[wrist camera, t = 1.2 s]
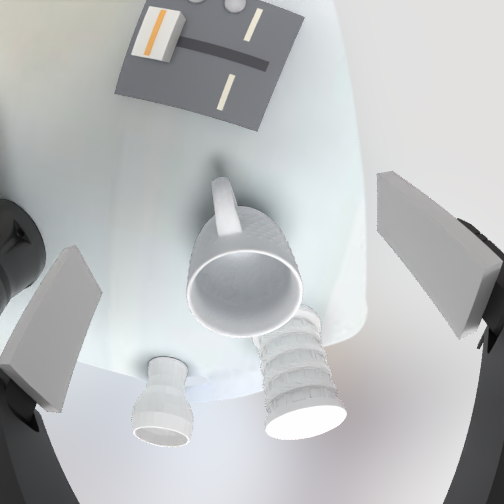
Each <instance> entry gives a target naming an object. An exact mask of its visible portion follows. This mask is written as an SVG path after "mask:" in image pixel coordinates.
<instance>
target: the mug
mask: <svg viewBox="0 0 504 504" xmlns="http://www.w3.org/2000/svg"><path fill="white" fill-rule="evenodd" d="M212 195H213V202H214V210H215V215H214V216H213V217H212V218H211V219H209V220H208V222H207V223H206V224H205V225H204V227H203V228H202V229H201V232H200V233H199V234H198V238H197V239H196V241H195V245H194V247H193V252H192V254H191V259H190V266H189V270H188V271H189V273H188V282H187V291H186V298H187V303H188V306H189V309H190V311H191V313H192V314H193V316H194V317H195V318H196V319H197V320H198V321H199V322H200V323H201V324H202V325H203V326H204V327H206V328H207V329H209V330H211V331H213V332H215V333H217V334H220V335H223V336H228V337H235V338H248V337H255V336H260V335H264V334H267V333H269V332H272V331H274V330H276V329H278V328H279V327H281V326H283V325H284V324H285V323H287V322H288V321H289V320H290V319H291V318H292V317H293V316H294V315H295V313H296V312H297V310H298V308H299V306H300V304H301V301H302V297H303V284H302V280H301V276H300V273H299V270H298V266H297V264H296V262H295V258H294V256H293V254H292V251H291V248H290V247H289V244H288V242H287V241H286V239H285V236H284V235H283V234H282V232H281V230H280V229H279V228H278V227H277V225H276V224H275V223H274V222H273V220H272V219H270V218H269V217H268V216H267V215H265V214H263V213H262V212H260V211H258V210H256V209H253V208H251V207H245V206H238V205H237V202H236V199H235V195H234V192H233V189H232V186H231V183H230V180H229V178H228V177H218V178H216V179H214V180H213V181H212Z"/></svg>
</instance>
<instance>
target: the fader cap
mask: <svg viewBox="0 0 504 504" xmlns="http://www.w3.org/2000/svg"><path fill="white" fill-rule="evenodd" d="M185 21H186V18H185V17H184V16H183V14H182V13H181V11H176V10H170V9H165V8H158V7H152V6H149V8H148V10H147V13H146V15H145V18H144V20H143V23H142V25H141V28H140V31H139V33H138V36H137V39H136V41H135V44H134V47H133V50H132V53H131V55H134V56H139V57H144V58H149V59H154V60H159V61H164V62H169V63H170V60H171V57H172V55H173V52H174V49H175V46H176V44H177V41H178V39H179V36H180V34H181V31H182V29H183V26H184V24H185Z"/></svg>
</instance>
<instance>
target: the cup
mask: <svg viewBox="0 0 504 504" xmlns="http://www.w3.org/2000/svg"><path fill="white" fill-rule="evenodd" d="M187 373H188V369H187V367H186V365H185V364H184V363H182V362H181V361H179V360H177V359H174V358H170V357H157V358H154V359H152V360H151V361H150V362H149V364H148V383H147V386H146V390H145V391H144V392H143V393H142V394H141V395H140V396H139V398H138V400H137V401H136V403H135V405H134V408H133V413H132V428H133V433H134V435H135V436H136V437H137V438H138V439H140V440H142V441H144V442H146V443H149V444H153V445H157V446H163V447H179V446H183V445H186V444H188V442H189V441H190V438H191V435H192V431H193V414H192V411H191V407H190V405H189V403H188V401H187V399H186V397H185V391H184V385H185V381H186V378H187Z"/></svg>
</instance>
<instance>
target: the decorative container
mask: <svg viewBox="0 0 504 504" xmlns="http://www.w3.org/2000/svg"><path fill="white" fill-rule="evenodd" d="M320 332H321V322H320V319H319V317H318V315H317V313H316V312H315V311H314V310H313V309H312V308H309V307H307V306H305V305H301V304H300V306H299V308H298V310H297V312H296V313H295V315H294V316H293V317H292V318H291V319H290V320H289V321H288V322H287V323H285V324H284V325H283V326H281V327H279V328H278V329H276V330H274V331H272V332H269V333H267V334H264V335H260V336H255V337H252V339H253V343H254V345H255V346H256V347H257V348H258V349H259V350H258V352H259V355H260V359H261V367H260V368H261V371H262V375H263V377H264V379H263V388H264V392H265V394H266V399H265V402H266V403H265V404H266V406H265V407H266V410H267V412H268V413H269V415H268V416H267V417H266V419H265V430H266V432H267V434H268V435H269V436H271V437H274V438H277V439H284V440H293V439H303V438H308V437H313V436H316V435H319V434H322V433H324V432H327V431H329V430H331V429H333V428H335V427H336V426H338V425H339V424H340V423H341V422H343V420H344V419H345V418H346V414H347V412H346V409H345V405H344V404H343V402H342V401H341V400H339V399H337V388H336V386H335V385H334V383H333V382H332V381H331V380H332V371H331V369H330V367H329V366H328V364H327V355H326V352H325V351H324V349H323V347H322V339H321V336H320Z"/></svg>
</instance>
